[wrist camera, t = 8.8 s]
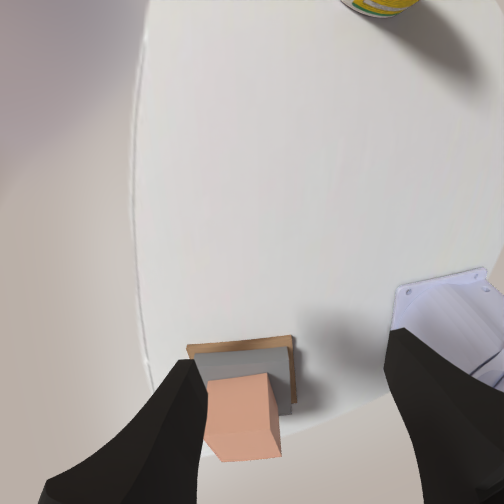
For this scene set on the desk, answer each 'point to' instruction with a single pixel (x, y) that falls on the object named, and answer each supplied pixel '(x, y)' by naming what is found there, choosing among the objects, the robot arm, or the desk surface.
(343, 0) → the supplement bottle
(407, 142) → the desk surface
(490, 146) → the desk surface
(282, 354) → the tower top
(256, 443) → the terracotta block
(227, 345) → the tower base
